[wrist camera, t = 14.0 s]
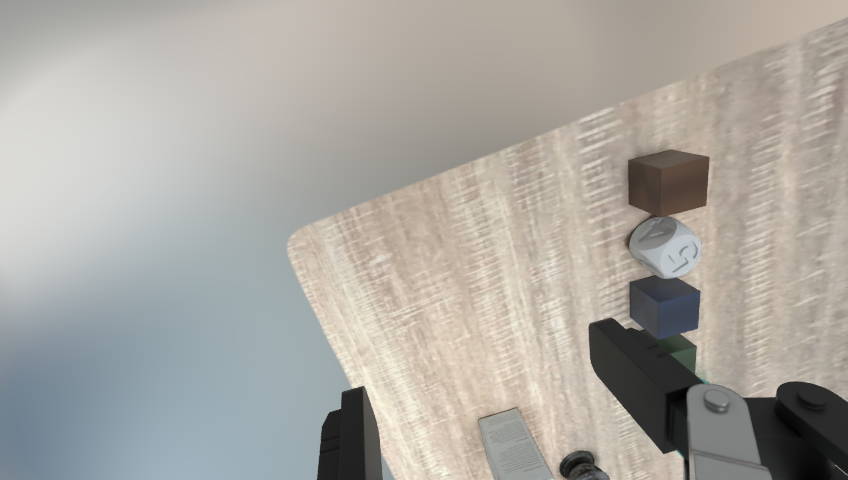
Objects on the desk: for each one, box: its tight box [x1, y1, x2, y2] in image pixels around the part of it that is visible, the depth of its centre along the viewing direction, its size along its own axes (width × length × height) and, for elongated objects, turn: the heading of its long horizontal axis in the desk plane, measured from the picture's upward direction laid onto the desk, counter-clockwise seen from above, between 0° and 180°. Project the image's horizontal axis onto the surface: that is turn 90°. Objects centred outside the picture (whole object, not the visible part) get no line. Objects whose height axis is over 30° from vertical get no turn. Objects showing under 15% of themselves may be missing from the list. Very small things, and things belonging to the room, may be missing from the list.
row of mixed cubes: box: [629, 150, 709, 374], centre depth 46 cm, size 28×5×5 cm, turn 12°
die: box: [629, 216, 702, 279], centre depth 44 cm, size 5×5×5 cm
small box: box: [479, 408, 554, 480], centre depth 49 cm, size 8×6×10 cm
